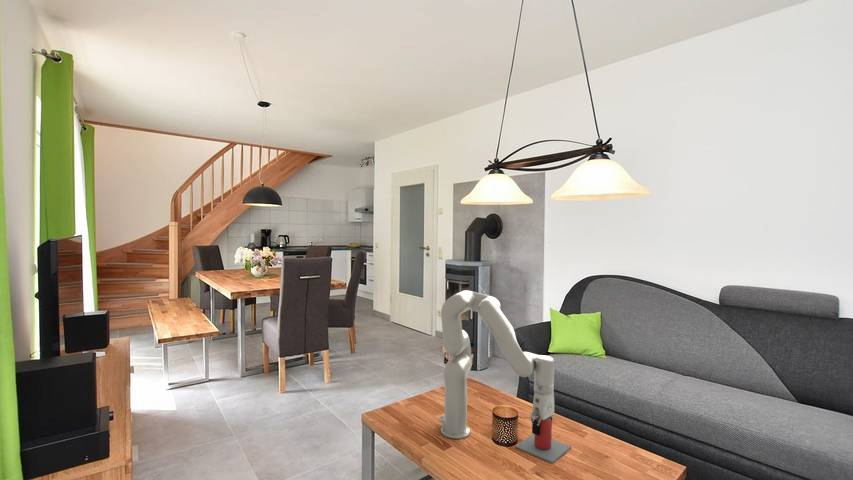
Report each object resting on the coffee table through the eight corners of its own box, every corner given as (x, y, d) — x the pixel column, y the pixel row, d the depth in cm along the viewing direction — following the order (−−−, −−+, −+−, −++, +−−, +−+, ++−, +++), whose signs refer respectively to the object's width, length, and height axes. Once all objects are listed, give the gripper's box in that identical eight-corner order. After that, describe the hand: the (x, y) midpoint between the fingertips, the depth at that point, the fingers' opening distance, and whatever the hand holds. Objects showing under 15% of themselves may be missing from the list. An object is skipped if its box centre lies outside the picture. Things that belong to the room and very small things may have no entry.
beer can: (552, 451, 157) (552, 420, 156) (534, 449, 158) (535, 419, 158) (550, 442, 163) (551, 413, 163) (533, 441, 164) (534, 411, 164)
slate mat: (515, 447, 160) (515, 446, 160) (535, 433, 172) (535, 432, 172) (552, 463, 149) (552, 462, 149) (571, 447, 161) (571, 446, 161)
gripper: (541, 396, 151) (540, 441, 152) (562, 384, 164) (560, 426, 164) (524, 390, 157) (522, 433, 157) (545, 379, 169) (543, 420, 169)
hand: (542, 430), depth 161 cm, fingers open, 9 cm apart
